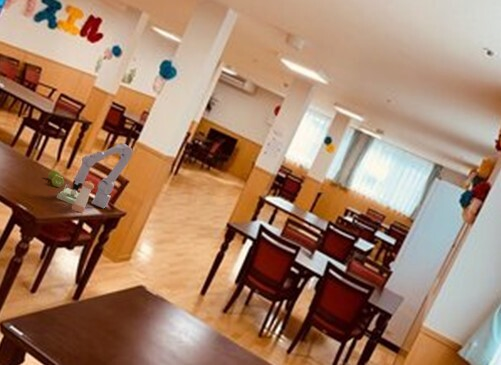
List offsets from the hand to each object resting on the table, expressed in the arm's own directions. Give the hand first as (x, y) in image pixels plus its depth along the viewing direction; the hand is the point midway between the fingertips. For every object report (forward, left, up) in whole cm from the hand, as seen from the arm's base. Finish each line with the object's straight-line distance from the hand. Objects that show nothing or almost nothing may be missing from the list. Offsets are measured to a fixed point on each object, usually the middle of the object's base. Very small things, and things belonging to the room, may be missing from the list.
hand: (73, 192), depth 328 cm
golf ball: (0, +1, 0) cm, 2 cm away
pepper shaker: (-8, +19, -4) cm, 22 cm away
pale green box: (0, 0, -4) cm, 4 cm away
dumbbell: (+16, -20, -4) cm, 26 cm away
